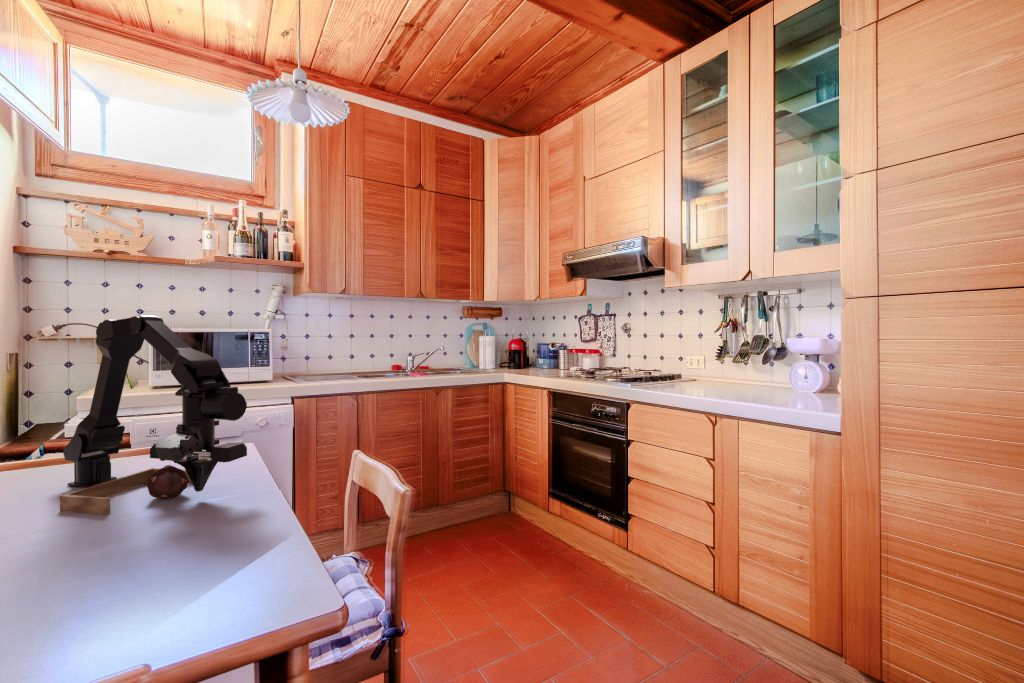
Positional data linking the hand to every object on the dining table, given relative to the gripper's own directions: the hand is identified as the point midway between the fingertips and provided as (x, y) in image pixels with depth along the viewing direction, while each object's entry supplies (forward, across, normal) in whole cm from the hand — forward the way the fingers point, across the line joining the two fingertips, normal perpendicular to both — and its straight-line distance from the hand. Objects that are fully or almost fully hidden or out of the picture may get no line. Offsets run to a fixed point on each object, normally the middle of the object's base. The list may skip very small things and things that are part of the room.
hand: (199, 491), depth 102 cm
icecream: (+2, -8, 0) cm, 8 cm away
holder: (+2, -16, 0) cm, 16 cm away
